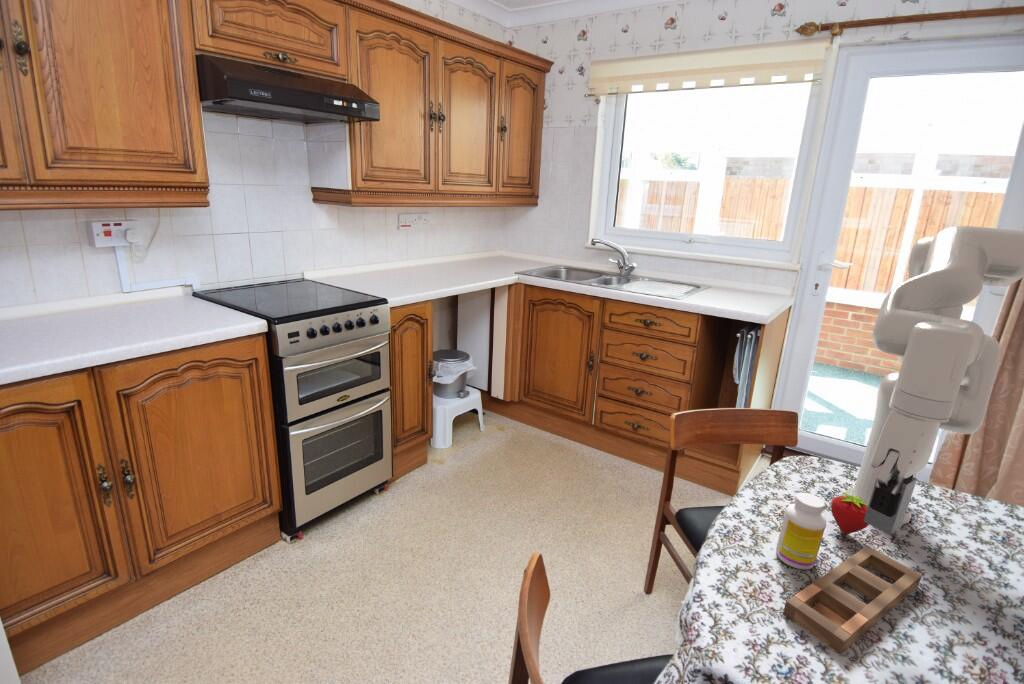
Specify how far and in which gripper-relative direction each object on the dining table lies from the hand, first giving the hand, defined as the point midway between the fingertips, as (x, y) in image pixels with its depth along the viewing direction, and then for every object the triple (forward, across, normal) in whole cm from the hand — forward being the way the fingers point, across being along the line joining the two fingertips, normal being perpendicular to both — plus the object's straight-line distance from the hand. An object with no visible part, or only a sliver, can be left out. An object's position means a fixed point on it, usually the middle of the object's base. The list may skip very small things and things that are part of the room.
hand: (887, 507), depth 86 cm
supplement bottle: (+18, 0, -11) cm, 21 cm away
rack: (+18, +1, 0) cm, 18 cm away
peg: (+3, 0, 0) cm, 3 cm away
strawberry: (+18, -17, -10) cm, 27 cm away
